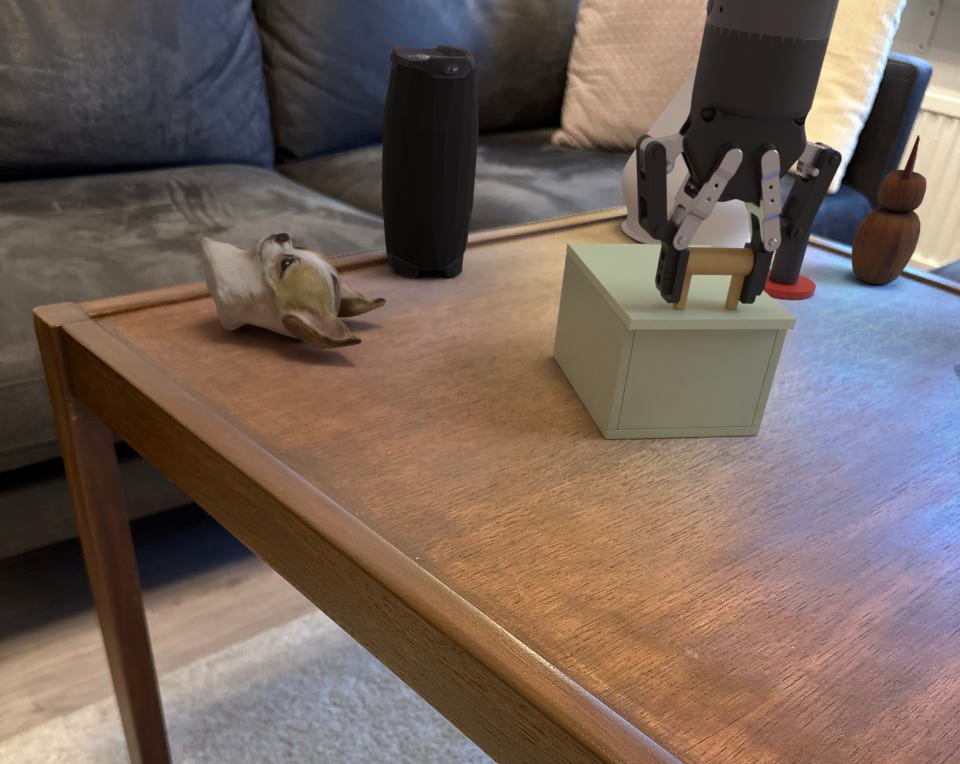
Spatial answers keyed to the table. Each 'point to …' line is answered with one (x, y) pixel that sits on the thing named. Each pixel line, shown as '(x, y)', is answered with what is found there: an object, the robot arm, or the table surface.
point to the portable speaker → (429, 158)
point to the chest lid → (705, 291)
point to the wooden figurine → (890, 226)
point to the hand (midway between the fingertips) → (706, 298)
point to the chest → (661, 370)
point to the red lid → (789, 272)
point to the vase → (725, 219)
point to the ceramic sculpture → (282, 291)
